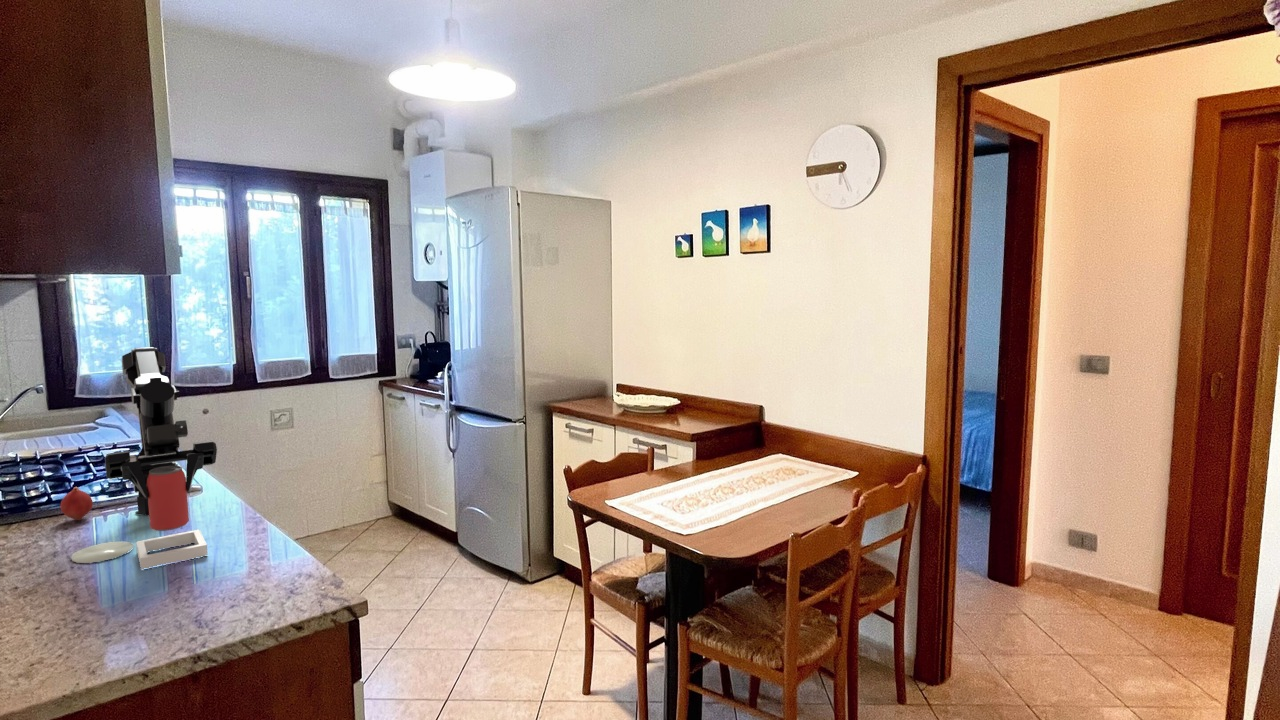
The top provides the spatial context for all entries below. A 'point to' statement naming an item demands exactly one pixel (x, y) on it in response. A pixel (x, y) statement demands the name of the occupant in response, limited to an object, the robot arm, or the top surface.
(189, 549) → the collar
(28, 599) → the top surface
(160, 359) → the robot arm
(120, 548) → the coaster
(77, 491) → the onion
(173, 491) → the beer can
